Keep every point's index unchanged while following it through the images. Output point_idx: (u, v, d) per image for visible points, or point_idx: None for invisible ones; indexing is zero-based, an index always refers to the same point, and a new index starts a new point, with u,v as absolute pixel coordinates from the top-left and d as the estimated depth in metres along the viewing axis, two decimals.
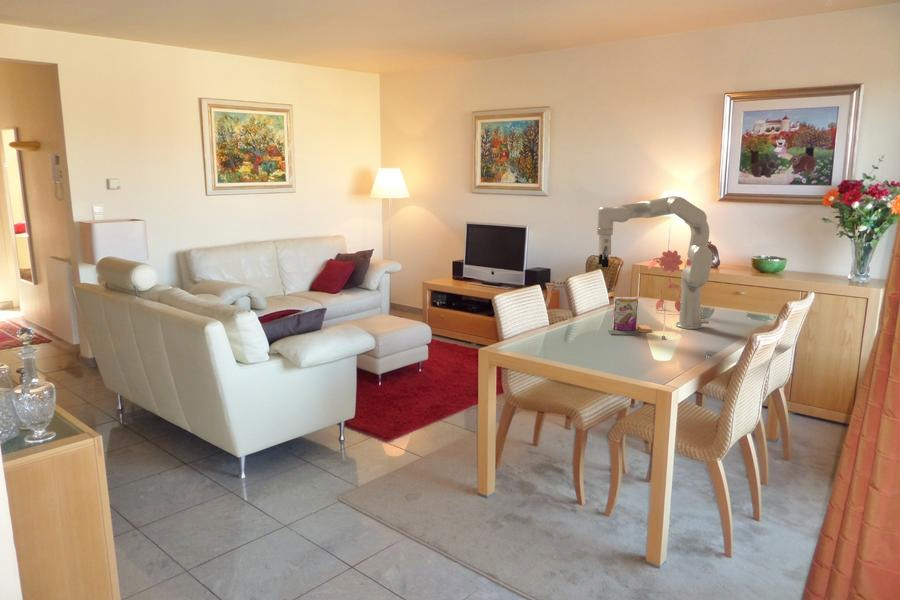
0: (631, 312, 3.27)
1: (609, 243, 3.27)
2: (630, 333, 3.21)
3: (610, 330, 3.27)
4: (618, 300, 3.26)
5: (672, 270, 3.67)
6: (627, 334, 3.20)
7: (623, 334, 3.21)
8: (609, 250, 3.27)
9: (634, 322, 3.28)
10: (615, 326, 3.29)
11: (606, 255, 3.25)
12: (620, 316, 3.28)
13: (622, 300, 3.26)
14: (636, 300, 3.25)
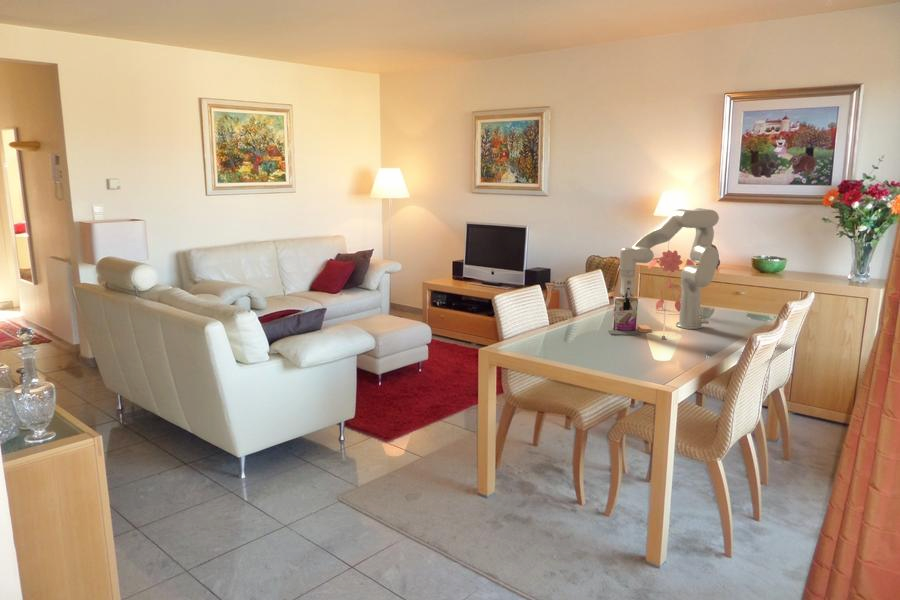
0: (631, 312, 3.27)
1: (632, 285, 3.22)
2: (630, 333, 3.21)
3: (610, 330, 3.27)
4: (618, 300, 3.26)
5: (672, 270, 3.67)
6: (627, 334, 3.20)
7: (623, 334, 3.21)
8: (632, 292, 3.22)
9: (634, 322, 3.28)
10: (615, 326, 3.29)
11: (628, 299, 3.22)
12: (620, 316, 3.28)
13: (622, 300, 3.26)
14: (636, 300, 3.25)
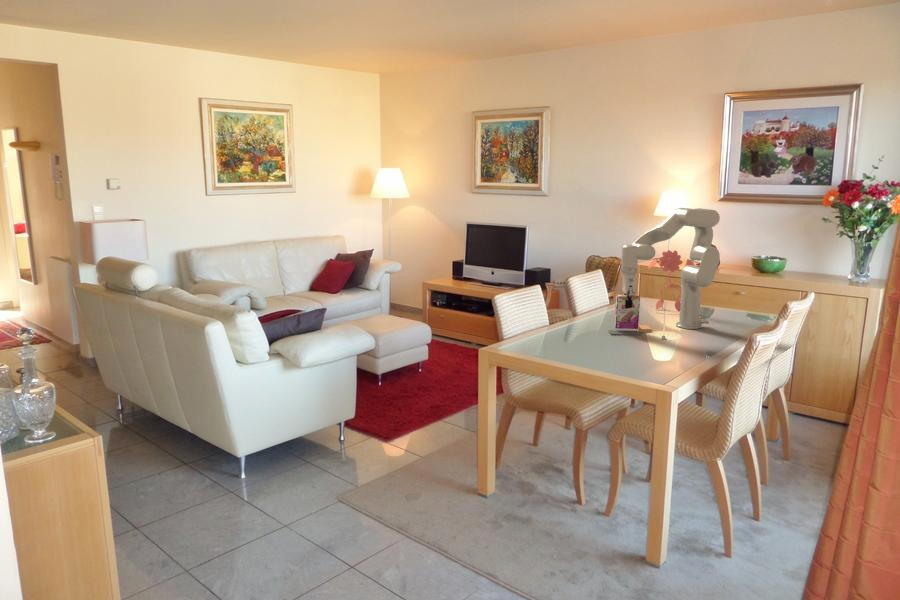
0: (633, 310, 3.23)
1: (634, 282, 3.18)
2: (630, 333, 3.21)
3: (610, 330, 3.27)
4: (620, 298, 3.22)
5: (672, 270, 3.67)
6: (627, 334, 3.20)
7: (623, 334, 3.21)
8: (634, 289, 3.18)
9: (636, 320, 3.24)
10: (617, 324, 3.25)
11: (630, 297, 3.18)
12: (622, 314, 3.24)
13: (624, 298, 3.22)
14: (638, 298, 3.22)
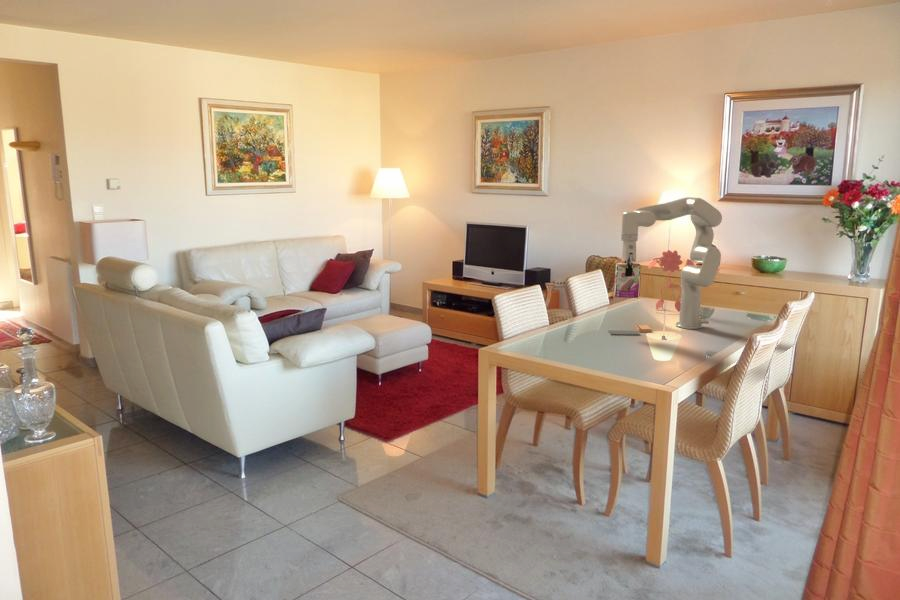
0: (633, 278, 3.16)
1: (634, 249, 3.11)
2: (630, 333, 3.21)
3: (610, 330, 3.27)
4: (620, 266, 3.15)
5: (672, 270, 3.67)
6: (627, 334, 3.20)
7: (623, 334, 3.21)
8: (634, 257, 3.11)
9: (636, 289, 3.17)
10: (617, 293, 3.18)
11: (630, 264, 3.11)
12: (622, 282, 3.17)
13: (624, 266, 3.15)
14: (638, 265, 3.14)
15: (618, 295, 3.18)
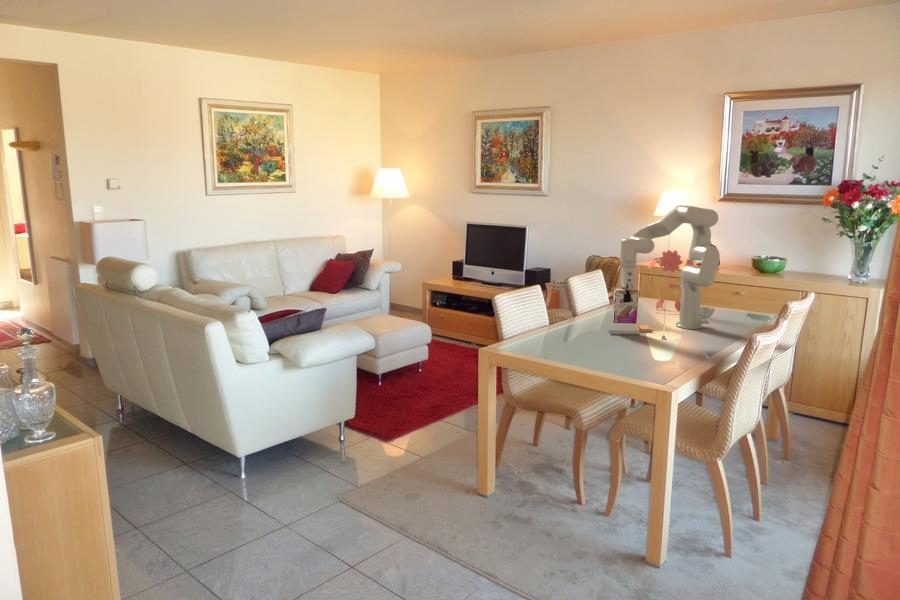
0: (631, 304, 3.18)
1: (632, 276, 3.13)
2: (630, 333, 3.21)
3: (610, 330, 3.27)
4: (618, 292, 3.18)
5: (672, 270, 3.67)
6: (627, 334, 3.20)
7: (623, 334, 3.21)
8: (632, 283, 3.14)
9: (635, 314, 3.19)
10: (615, 319, 3.21)
11: (628, 291, 3.14)
12: (621, 308, 3.19)
13: (622, 292, 3.18)
14: (637, 292, 3.17)
15: (616, 321, 3.21)
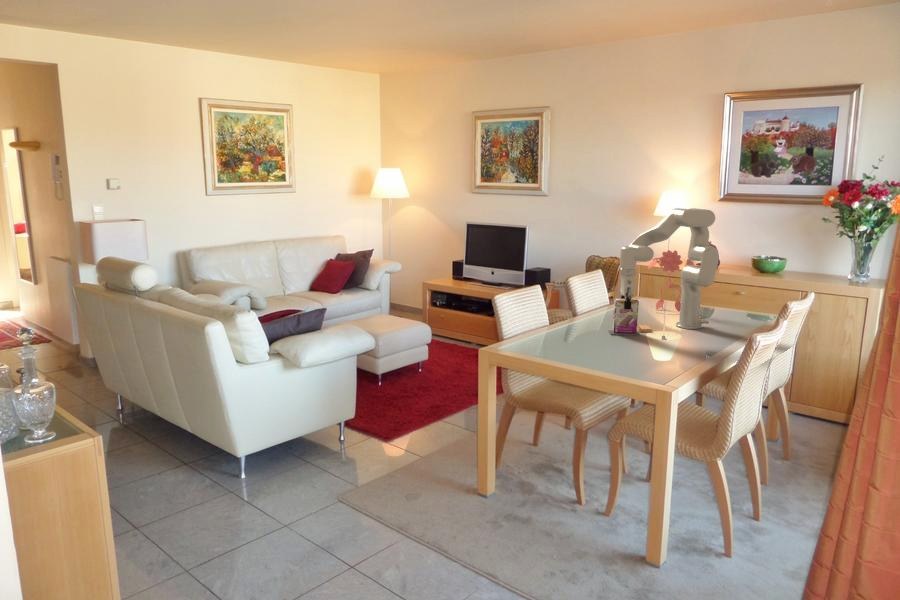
0: (632, 314, 3.19)
1: (632, 284, 3.14)
2: (630, 333, 3.21)
3: (610, 330, 3.27)
4: (618, 302, 3.19)
5: (672, 270, 3.67)
6: (627, 334, 3.20)
7: (623, 334, 3.21)
8: (632, 291, 3.15)
9: (635, 324, 3.20)
10: (615, 328, 3.22)
11: (629, 297, 3.13)
12: (621, 318, 3.20)
13: (622, 302, 3.19)
14: (637, 302, 3.18)
15: (616, 330, 3.22)
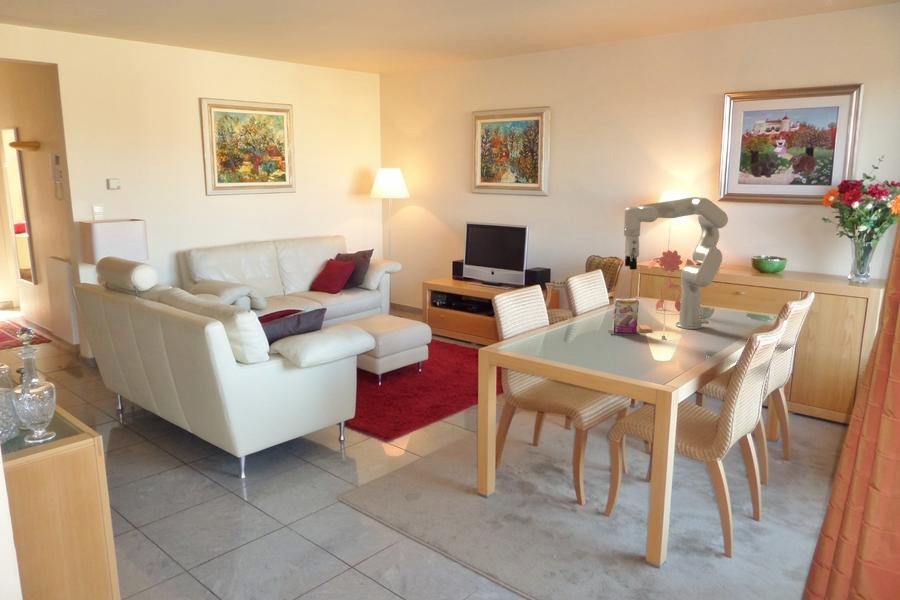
0: (632, 314, 3.19)
1: (637, 244, 3.16)
2: (630, 333, 3.21)
3: (610, 330, 3.27)
4: (618, 302, 3.19)
5: (672, 270, 3.67)
6: (627, 334, 3.20)
7: (623, 334, 3.21)
8: (637, 252, 3.16)
9: (635, 324, 3.20)
10: (615, 328, 3.22)
11: (634, 257, 3.14)
12: (621, 318, 3.20)
13: (622, 302, 3.19)
14: (637, 302, 3.18)
15: (616, 330, 3.22)
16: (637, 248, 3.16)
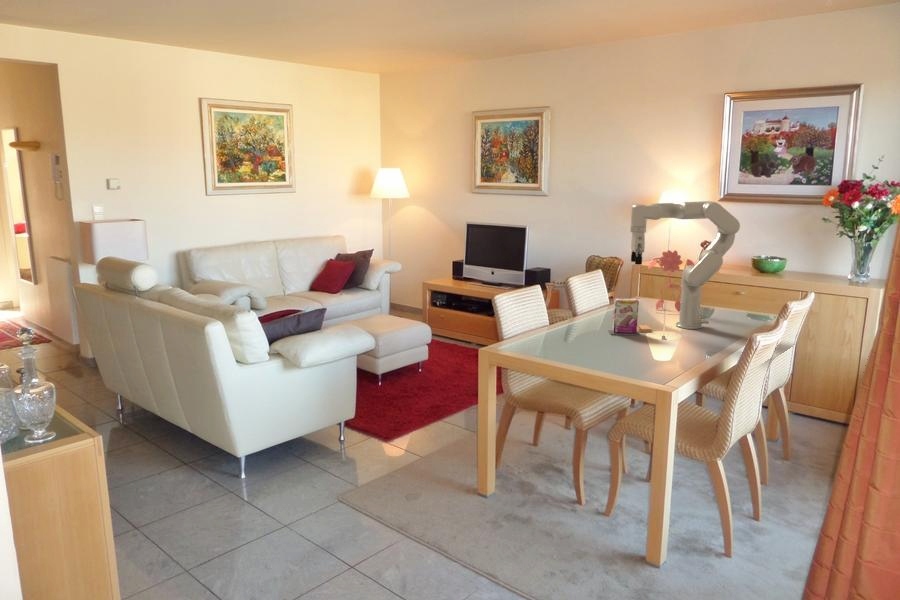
0: (632, 314, 3.19)
1: (643, 240, 3.28)
2: (630, 333, 3.21)
3: (610, 330, 3.27)
4: (618, 302, 3.19)
5: (672, 270, 3.67)
6: (627, 334, 3.20)
7: (623, 334, 3.21)
8: (643, 247, 3.28)
9: (635, 324, 3.20)
10: (615, 328, 3.22)
11: (640, 252, 3.26)
12: (621, 318, 3.20)
13: (622, 302, 3.19)
14: (637, 302, 3.18)
15: (616, 330, 3.22)
16: (643, 244, 3.28)
